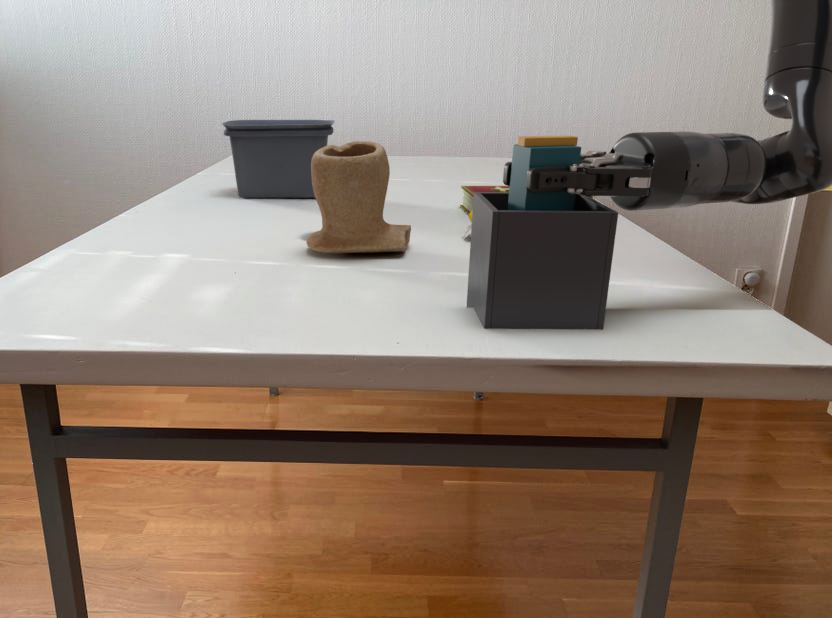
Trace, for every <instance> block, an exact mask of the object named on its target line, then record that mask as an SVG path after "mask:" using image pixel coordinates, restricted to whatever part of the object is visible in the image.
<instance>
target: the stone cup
mask: <svg viewBox="0 0 832 618" xmlns="http://www.w3.org/2000/svg"><path fill="white" fill-rule="evenodd" d="M390 170H391V169H390V163H389V158H388V155H387V151H386V149H385V147H384V146H383V145H381V144H380V143H378V142H375V141H369V140H368V141H367V140H365V141H364V140H354V141H353V140H352V141H349V142H347V143H345V144H342V145H336V144H335V145H334V144H327V146H325V147H323V148H321V149H319V150H318V151H316V152H315V153H314V155H313V157H312V160H311V175H312V186H313V191H314V195H315V197H314V198H315V200H316V204H317V206H318V208H319V211H320V212H319V213H320V215H321V225H322V226H321V229H320V230H317V231H315V232H313V233H311V234H310V235H309V236H307V238H306V243H305V244H306V245H307V247H308V248H309V249H311V250H312V251H315V252H319V253H326V254H367V253H368V254H369V253H372V254H373V253H392V252H393V253H394V252H395V253H396V252H405V251H406V250H407V247H408V246H409V244H410V241H411V231H412V225H410V224H393V223H392V224H391V223H388V222H386V221H385V220H384V208H385V203H386V197H387V193H388V187H389V181H390V175H391V174H390V173H391V171H390Z"/></svg>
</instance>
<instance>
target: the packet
mask: <svg viewBox="0 0 832 618" xmlns="http://www.w3.org/2000/svg"><path fill="white" fill-rule="evenodd" d="M578 140H579V137H578V136H575V135H534V136H533V135H532V136H531V135H530V136H518V137H517V143H516V144H513V147H512V158H511V162H512V167H511V177H510V188H509V198H508V209H507V210H520V211H573V210H574V202H575V194H576V193H574V194H569V193H566V192H565V188H564V191H557V192H537V193H533V192H529V191H527V189H526V182H527V172H528V170H529V168H531V167H548V166H565V167H568V165H572V164H579V163H580V155H581V153H582V146H578ZM566 170H567V169H566Z"/></svg>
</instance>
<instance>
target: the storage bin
mask: <svg viewBox="0 0 832 618" xmlns="http://www.w3.org/2000/svg"><path fill="white" fill-rule="evenodd" d="M334 124H335V120H334V119H234V120H227V121H224V122H222V123H221V125H222V126H223V127H224V128H225V129H224V130H223V136H225V137H229V142H230V149H231V154H232V155H231V156H232V162H233V168H234V169H233V170H234V176H235V182H236V183H235V184H236V189H237V195H238V197H239V198H243V199H247V198H248V199H260V198H261V199H262V198H263V199H268V198H271V199H273V198H277V199H279V198H282V199H284V198H286V199H287V198H293V199H295V198H299V199H300V198H307V199H310V198H315V195H314V191H313V186H312V175H311V160H312V157H313V155H314V153H315V152H316V151H318V150H319V149H321V148H323V147H325V146H328V141H329V136H332V135H333V133H334V132H335V130H334V127H333V125H334Z"/></svg>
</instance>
